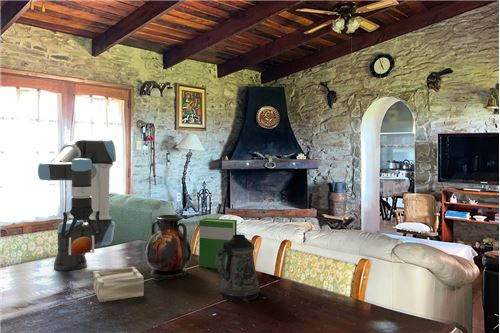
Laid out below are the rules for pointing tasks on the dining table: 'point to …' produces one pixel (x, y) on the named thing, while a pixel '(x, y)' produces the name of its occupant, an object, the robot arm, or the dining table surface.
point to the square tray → (118, 284)
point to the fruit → (81, 246)
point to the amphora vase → (168, 248)
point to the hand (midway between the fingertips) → (81, 253)
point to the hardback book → (214, 239)
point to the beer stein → (238, 270)
